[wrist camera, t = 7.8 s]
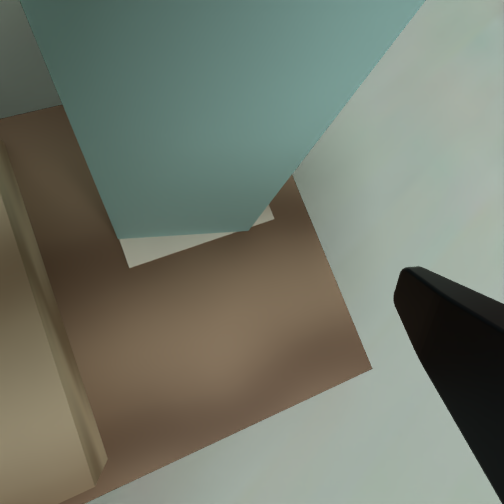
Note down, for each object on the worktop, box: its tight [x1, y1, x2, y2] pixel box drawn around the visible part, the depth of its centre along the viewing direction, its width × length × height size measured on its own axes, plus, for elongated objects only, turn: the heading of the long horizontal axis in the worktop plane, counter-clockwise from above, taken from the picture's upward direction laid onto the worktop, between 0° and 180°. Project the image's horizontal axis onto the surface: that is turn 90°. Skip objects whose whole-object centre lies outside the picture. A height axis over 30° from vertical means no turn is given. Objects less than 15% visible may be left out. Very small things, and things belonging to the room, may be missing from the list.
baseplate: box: [0, 105, 372, 504], centre depth 17 cm, size 14×14×3 cm
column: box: [20, 0, 425, 239], centre depth 11 cm, size 5×5×13 cm
